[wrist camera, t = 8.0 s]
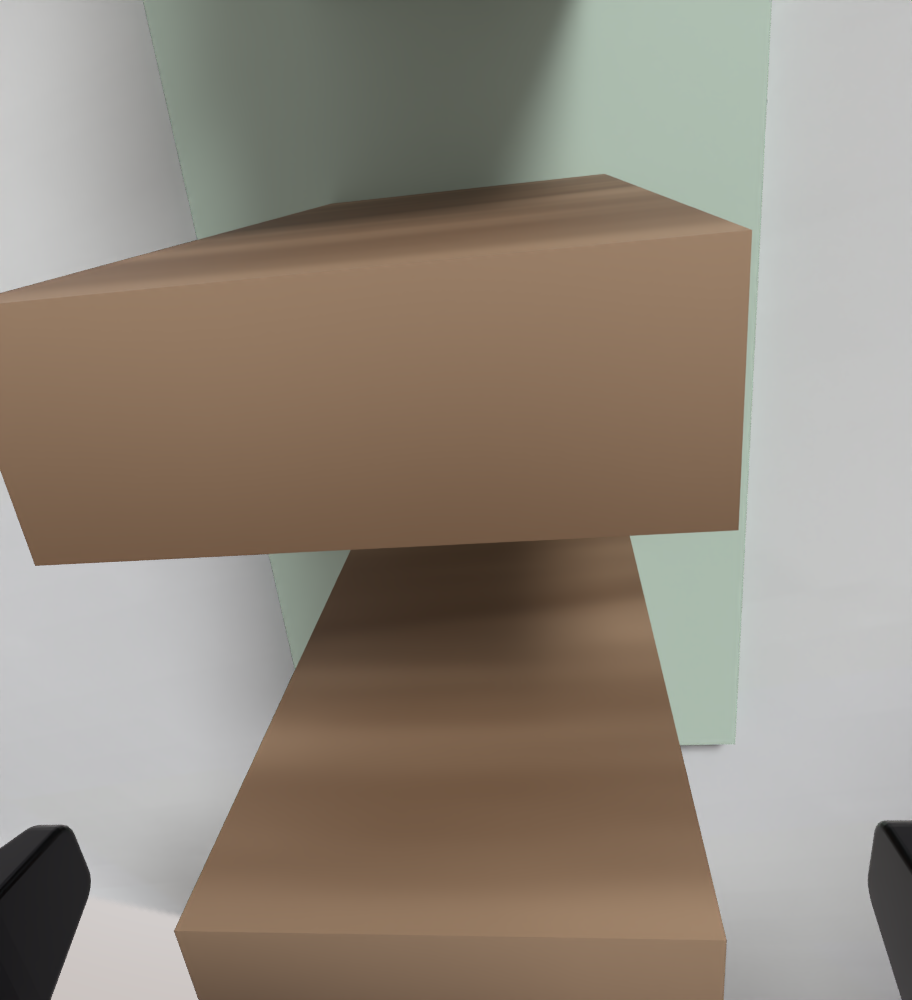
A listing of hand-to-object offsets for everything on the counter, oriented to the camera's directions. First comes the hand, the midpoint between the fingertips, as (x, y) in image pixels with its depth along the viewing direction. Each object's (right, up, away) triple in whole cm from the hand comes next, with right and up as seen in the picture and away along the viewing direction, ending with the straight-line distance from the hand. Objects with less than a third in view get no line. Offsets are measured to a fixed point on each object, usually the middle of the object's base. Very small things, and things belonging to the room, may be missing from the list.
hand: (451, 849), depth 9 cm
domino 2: (+1, +3, +7) cm, 8 cm away
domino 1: (0, +8, +5) cm, 10 cm away
